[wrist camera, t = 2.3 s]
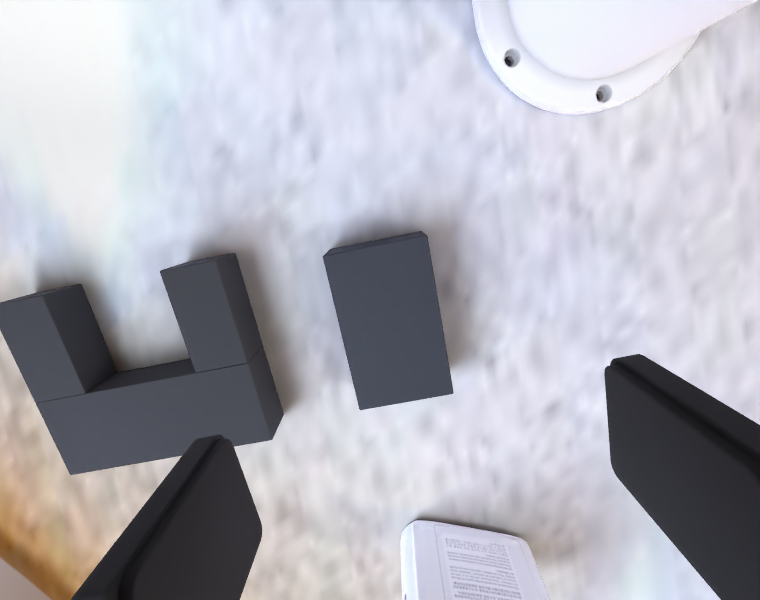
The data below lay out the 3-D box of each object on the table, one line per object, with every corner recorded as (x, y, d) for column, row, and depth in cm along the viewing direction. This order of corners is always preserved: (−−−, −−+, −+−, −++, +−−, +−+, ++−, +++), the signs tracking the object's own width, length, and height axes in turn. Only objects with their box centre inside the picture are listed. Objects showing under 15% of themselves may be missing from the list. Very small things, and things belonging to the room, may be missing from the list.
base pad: (33, 293, 25) (-12, 305, 22) (235, 252, 24) (215, 259, 21) (102, 447, 28) (70, 475, 25) (284, 414, 27) (272, 440, 24)
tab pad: (329, 249, 24) (322, 256, 21) (421, 230, 24) (427, 235, 21) (362, 387, 27) (359, 410, 24) (445, 372, 26) (453, 393, 24)
